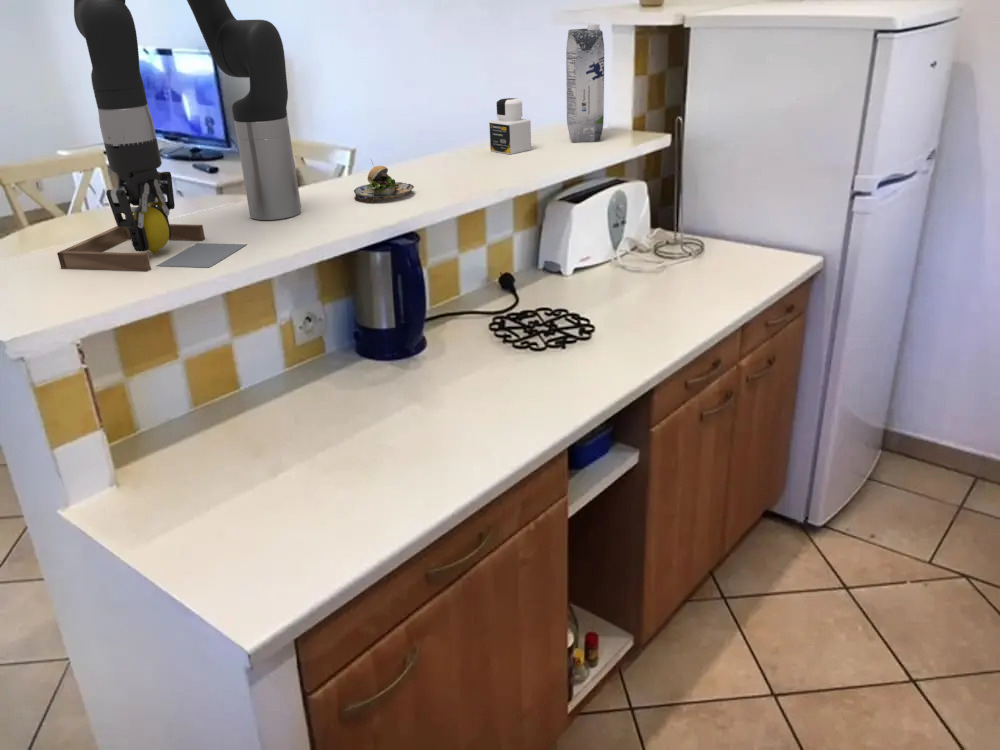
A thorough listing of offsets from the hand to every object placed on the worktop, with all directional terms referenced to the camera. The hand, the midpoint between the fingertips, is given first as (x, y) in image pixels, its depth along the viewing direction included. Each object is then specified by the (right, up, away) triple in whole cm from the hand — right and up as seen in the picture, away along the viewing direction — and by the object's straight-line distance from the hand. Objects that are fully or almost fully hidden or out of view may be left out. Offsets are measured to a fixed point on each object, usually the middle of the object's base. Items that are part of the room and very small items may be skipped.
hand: (153, 244), depth 136 cm
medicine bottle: (+58, +33, +68) cm, 95 cm away
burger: (+33, +14, +31) cm, 47 cm away
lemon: (0, -2, +1) cm, 2 cm away
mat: (+8, -2, -1) cm, 9 cm away
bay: (-3, -1, +1) cm, 4 cm away
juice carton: (+77, +38, +78) cm, 116 cm away
